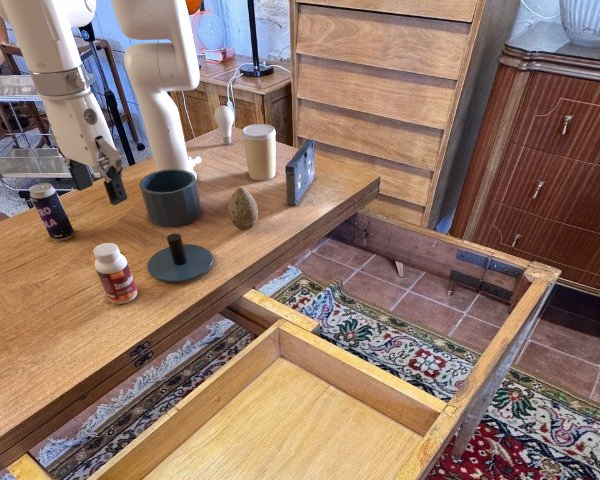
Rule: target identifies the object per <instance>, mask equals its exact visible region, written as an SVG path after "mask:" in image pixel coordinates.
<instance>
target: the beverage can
mask: <svg viewBox="0 0 600 480" xmlns="http://www.w3.org/2000/svg"><path fill="white" fill-rule="evenodd" d="M29 192H30V193H29V196H30V199H31V201H32V202H33V205H34V207H35V209H36V211H37V213H38V215H39V217H40V220H41V221H42V223H43V225H44V228H45V229H46V231H47V233H48V236H49V237H50V238H51V239H53V240H55V241H59V242H62V241H67V240H68V239H71V237H72V236H73V233H74V228H73V225H72V224H71V221H70V218H69V216H68V214H67V211H66V210H65V208H64V204H63V203H62V201H61V199H60V196H59V194H58V192H57V189H55V187H53V185H52V184H51V183H48V182H40V183H36V184H34V185H32V186H30V187H29Z"/></svg>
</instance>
